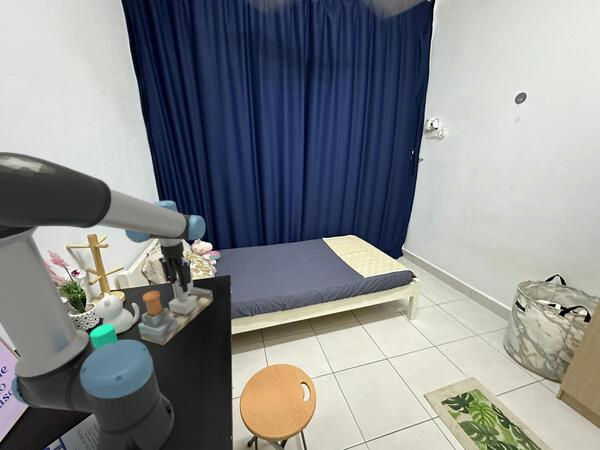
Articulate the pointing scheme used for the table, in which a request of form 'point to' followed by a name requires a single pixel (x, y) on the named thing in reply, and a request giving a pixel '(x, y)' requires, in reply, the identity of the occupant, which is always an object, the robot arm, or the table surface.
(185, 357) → the table surface
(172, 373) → the table surface
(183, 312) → the carriage
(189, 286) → the white cup
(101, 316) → the cat figurine
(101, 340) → the candle
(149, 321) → the rail board
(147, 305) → the plunger
